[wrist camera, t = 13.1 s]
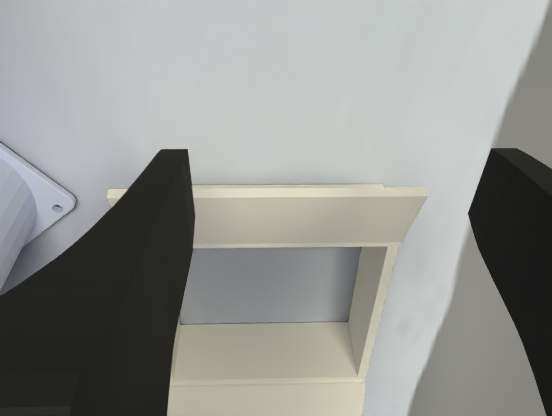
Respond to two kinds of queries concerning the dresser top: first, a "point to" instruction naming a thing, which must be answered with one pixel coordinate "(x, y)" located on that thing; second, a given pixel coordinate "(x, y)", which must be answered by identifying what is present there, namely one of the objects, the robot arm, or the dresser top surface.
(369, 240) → the carton
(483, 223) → the robot arm
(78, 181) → the dresser top surface
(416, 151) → the dresser top surface
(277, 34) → the dresser top surface
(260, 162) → the dresser top surface
